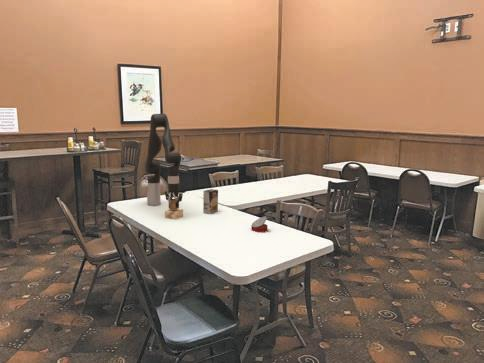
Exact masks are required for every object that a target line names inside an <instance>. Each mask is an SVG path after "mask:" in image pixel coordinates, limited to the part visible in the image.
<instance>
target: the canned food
mask: <svg viewBox="0 0 484 363" xmlns="http://www.w3.org/2000/svg"><path fill="white" fill-rule="evenodd" d="M266 221H267V216H262V217H259V218H258V219H256V220H254V221H253V222H252V223H251V225H250V226H251V227H250V228H251V231H252V232H254V231H255V232H256V233H265V231H266V232H267V231H268V224H266ZM255 232H254V233H255Z"/></svg>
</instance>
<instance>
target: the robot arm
mask: <svg viewBox="0 0 484 363" xmlns="http://www.w3.org/2000/svg"><path fill="white" fill-rule="evenodd" d="M168 118H169V117H168V116H167V114H165V113H153V114H151V117H150V120H149V121H150V123H149V124H150V126H149V139H148V145H147V147H148V148H147V155H146V156H147V157H146V161H145V165H144V168H145V170H144V171H145V173H146V174H148V175H150V174H151V175H153V176H151V177H148V179H147V192H146V203H147V204H146V205H147V206H151V207H155V206H157V207H158V206H161V203H162V202H161V163H160V161H158V160H157V161H155V160H154V159H155V158H156V156H157V155H158V154H159V153H160V152H161V150H162V146H163V149H164V161H165V162H166V163H167V164H173V165H172V166H169V167H168V168H167V190H166V191H164V196H165V200H166V201H168V200H170V199H175V200H176V208H178V207H179V208H180V202H182V201H183V196H184V193H183V192H180V176H179V175H180V174H179V173H180V172H179V170H180V165H181V162H182V156H181V153H180V152H174V151H175V149H176V147H175V143H174V141H173V138H172V133H171V128H170V122H169V120H168ZM157 128H164V131H163V132H164V133H163V135H162V137H161V136H159V134H158V132H157ZM179 208H178V209H179Z"/></svg>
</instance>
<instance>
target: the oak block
mask: <svg viewBox="0 0 484 363" xmlns="http://www.w3.org/2000/svg"><path fill="white" fill-rule="evenodd" d="M182 217H184V209H180V208H178V209H175V210H174V209H169V208H168V209H167V210H165V211H164V219H167V220H168V219H169V220H178V219H181V218H182Z"/></svg>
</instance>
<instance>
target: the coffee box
mask: <svg viewBox="0 0 484 363" xmlns="http://www.w3.org/2000/svg"><path fill="white" fill-rule="evenodd" d="M202 197H203V200H202V201H203V203H202V204H203V208H202V210H203V214H207V215H211V214H215V213H218V212H219V189H206V190H203V196H202Z"/></svg>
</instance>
